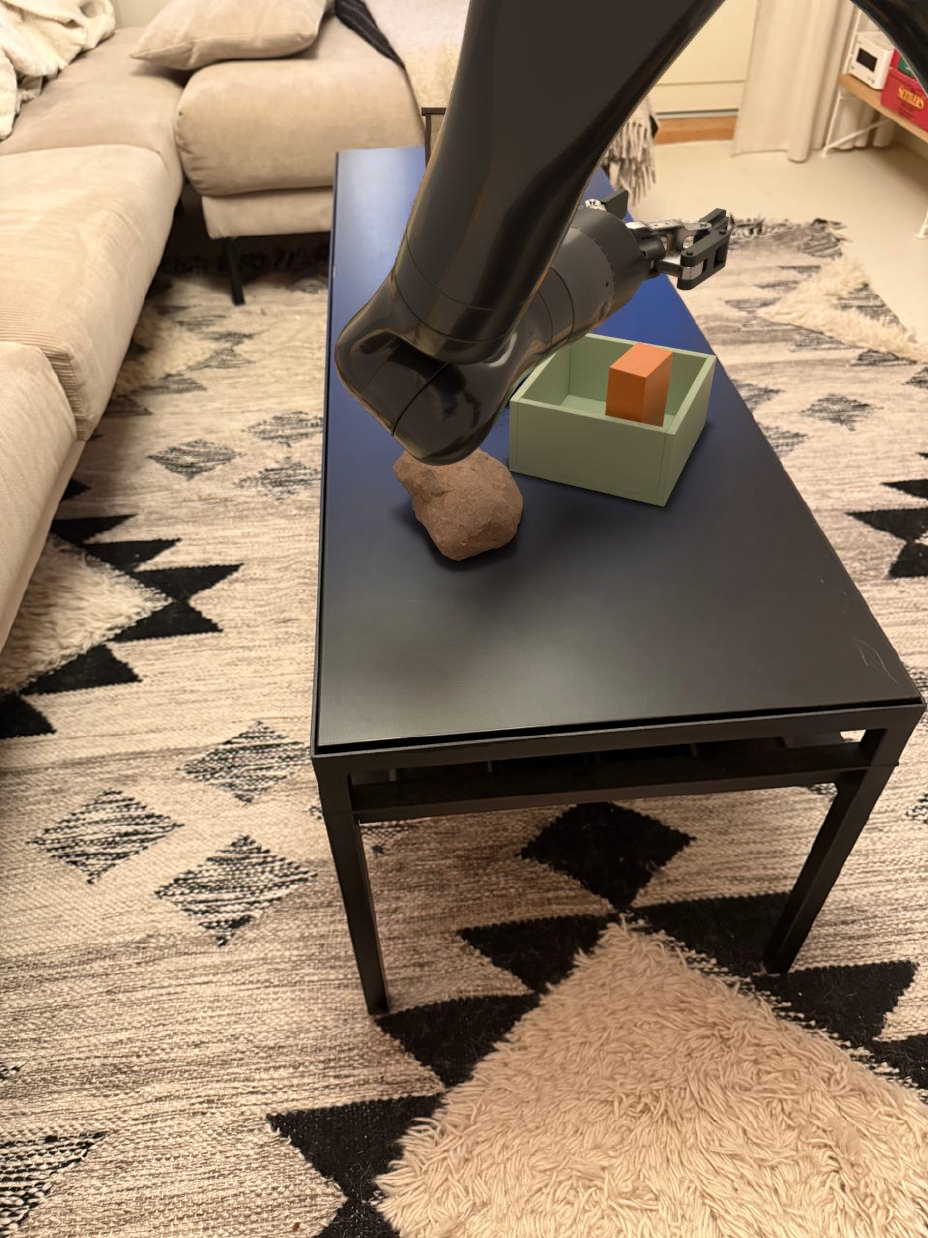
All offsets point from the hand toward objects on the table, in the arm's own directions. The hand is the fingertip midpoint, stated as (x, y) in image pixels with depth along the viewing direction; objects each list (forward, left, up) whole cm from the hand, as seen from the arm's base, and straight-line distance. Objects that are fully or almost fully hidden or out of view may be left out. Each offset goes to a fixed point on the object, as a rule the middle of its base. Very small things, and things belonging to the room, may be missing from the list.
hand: (670, 211), depth 74 cm
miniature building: (+40, -59, -25) cm, 75 cm away
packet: (+1, +1, -24) cm, 24 cm away
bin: (+4, -2, -24) cm, 25 cm away
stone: (+12, +15, -25) cm, 31 cm away
